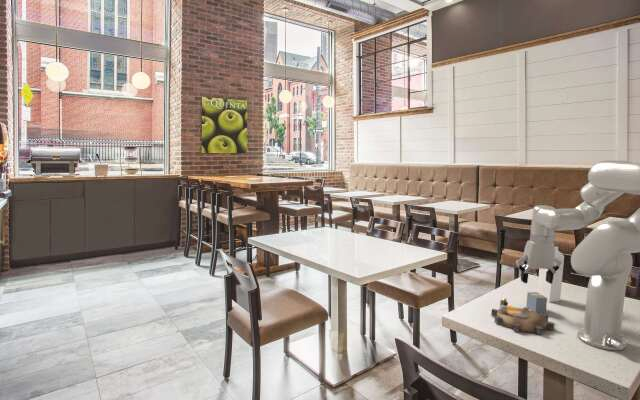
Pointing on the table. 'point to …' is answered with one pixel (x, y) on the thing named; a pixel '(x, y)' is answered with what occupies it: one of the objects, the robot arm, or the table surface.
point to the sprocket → (522, 319)
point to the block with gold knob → (504, 302)
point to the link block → (536, 302)
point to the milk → (554, 289)
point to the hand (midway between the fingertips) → (536, 282)
